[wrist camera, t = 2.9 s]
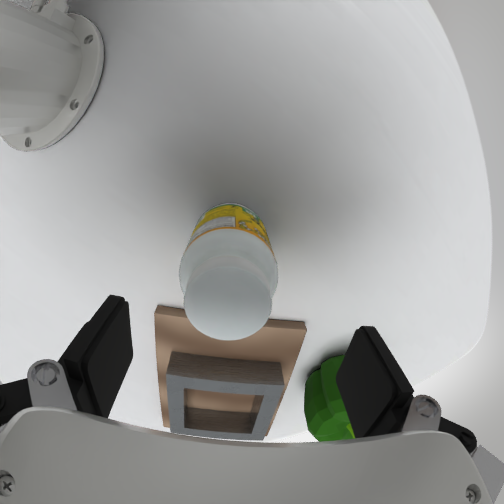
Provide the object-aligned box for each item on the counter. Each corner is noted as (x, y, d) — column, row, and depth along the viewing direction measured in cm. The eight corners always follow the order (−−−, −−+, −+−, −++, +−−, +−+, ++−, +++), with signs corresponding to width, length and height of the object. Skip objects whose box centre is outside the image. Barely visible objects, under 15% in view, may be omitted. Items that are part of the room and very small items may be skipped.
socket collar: (171, 351, 24) (165, 374, 21) (280, 362, 25) (284, 385, 22) (174, 411, 27) (170, 432, 24) (261, 419, 28) (263, 440, 25)
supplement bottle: (185, 214, 20) (148, 270, 11) (254, 192, 20) (269, 233, 11) (209, 276, 22) (194, 360, 13) (274, 258, 22) (297, 335, 13)
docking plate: (157, 305, 23) (154, 313, 22) (304, 321, 25) (306, 329, 23) (164, 419, 30) (163, 426, 28) (266, 428, 31) (266, 436, 30)
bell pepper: (285, 363, 26) (302, 447, 17) (361, 331, 26) (403, 406, 16) (308, 404, 29) (325, 474, 20) (372, 378, 29) (403, 443, 19)
